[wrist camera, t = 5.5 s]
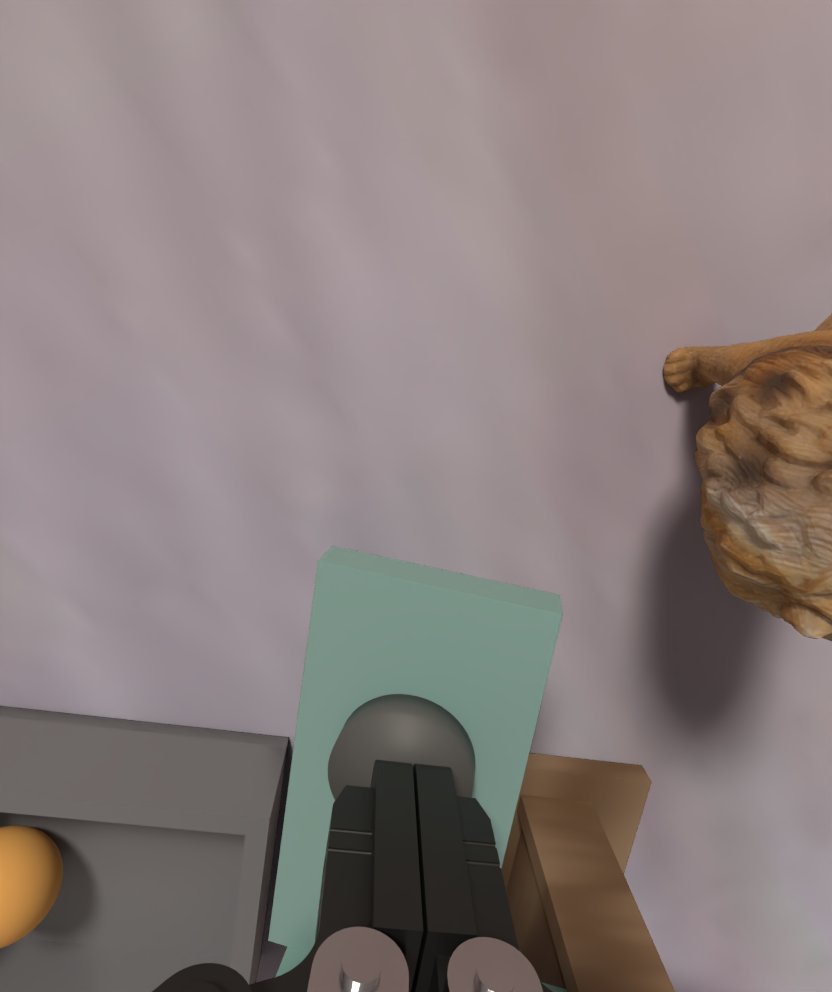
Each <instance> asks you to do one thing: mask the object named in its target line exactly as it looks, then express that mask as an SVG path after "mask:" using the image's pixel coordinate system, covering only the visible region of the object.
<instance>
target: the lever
mask: <svg viewBox="0 0 832 992" xmlns="http://www.w3.org/2000/svg"><path fill="white" fill-rule="evenodd" d="M562 615H563V613H562V606H561V599H560V595H558V594H553V593H548V592H544V591H539V590H535V589H530V588H525V587H521V586H516V585H511V584H507V583H502V582H498V581H493V580H488V579H484V578H479V577H474V576H470V575H465V574H461V573H456V572H451V571H447V570H442V569H437V568H433V567H428V566H424V565H419V564H414V563H410V562H405V561H400V560H396V559H391V558H387V557H382V556H377V555H373V554H368V553H363V552H359V551H354V550H350V549H345V548H340V547H336V546H332V547H331V548H330V549H329V550H328V551H327V552H326V553H325V554H324V555H323V556H322V557H321V558H320V559H319V560H318V565H317V573H316V581H315V588H314V596H313V603H312V611H311V619H310V626H309V634H308V641H307V649H306V657H305V664H304V672H303V679H302V687H301V695H300V702H299V710H298V717H297V725H296V733H295V740H294V748H293V755H292V763H291V771H290V778H289V786H288V793H287V801H286V809H285V816H284V824H283V831H282V839H281V847H280V854H279V862H278V869H277V877H276V885H275V892H274V900H273V907H272V915H271V923H270V930H269V938H268V941H270V942H274V943H277V944H280V945H284V946H287V949H286V952H285V954H284V957H283V959H282V962H281V964H280V967H279V969H278V971H277V974H276V976H275V977H277V976H280V975H283V974H285V973H286V972H288V971H290V970H292V969H293V968H294V967H296V966H297V965H299V964H300V963H301V962H302V961H303V960H304V959H305V958H306V956H307V955H308V954H309V952H310V951H311V949H312V948H313V946H314V944H315V935H316V926H317V918H318V909H319V900H320V891H321V883H322V874H323V866H324V859H325V853H326V846H327V840H328V833H329V827H330V820H331V813H332V807H333V803H334V802H335V800H336V799H337V797H338V796H339V795H340V793H341V792H342V790H343V789H344V787H345V786H346V785H350V786H360V787H370V785H371V779H372V773H373V767H374V763H375V760H386V761H395V762H405V763H412V765H414V763H416V764H425V765H435V766H444V767H451V769H452V773H453V780H454V786H455V793H456V796H460V797H470V798H476V799H477V801H478V802H479V804H480V805H481V806H482V808H483V809H484V811H485V812H486V814H487V815H488V817H489V818H490V819H491V824H492V828H493V833H494V838H495V842H496V845H495V847H496V848H497V851H498V856H499V861H500V868H502V864H503V860H504V855H505V851H506V847H507V843H508V839H509V835H510V831H511V826H512V822H513V818H514V814H515V810H516V806H517V802H518V797H519V793H520V789H521V785H522V781H523V777H524V772H525V768H526V764H527V760H528V756H529V752H530V748H531V743H532V739H533V735H534V731H535V727H536V723H537V719H538V714H539V710H540V706H541V702H542V698H543V694H544V690H545V685H546V681H547V677H548V673H549V669H550V665H551V660H552V656H553V652H554V648H555V644H556V640H557V636H558V631H559V627H560V623H561V619H562ZM541 983H542V982H541ZM542 984H544V985H545V986H546V987H547V988H548V989H550V990H551V991H553V992H567V990H566V989H562V988H559V987H556V986H552V985H549V984H546V983H542Z"/></svg>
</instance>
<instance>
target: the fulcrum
mask: <svg viewBox="0 0 832 992" xmlns="http://www.w3.org/2000/svg"><path fill="white" fill-rule="evenodd" d="M650 785H651V780H650V778H649V777H648V775H647V773H646V772H645V770H644V768H643V767H642V765H633V764H624V763H615V762H606V761H597V760H588V759H579V758H570V757H561V756H552V755H543V754H533V753H529V756H528V760H527V764H526V768H525V772H524V777H523V781H522V785H521V789H520V793H519V797H518V802H517V806H516V810H515V814H514V818H513V822H512V826H511V831H510V835H509V839H508V843H507V847H506V851H505V855H504V860H503V864H502V868H501V870H502V875H503V879H504V884H505V888H506V893H507V898H508V902H509V907H510V912H511V916H512V921H513V925H514V930H515V935H516V939H517V944H518V947H519V950H520V952H521V953H522V954H523V955H524V956H525V957H526V958H527V959H528V961H529V962H530V963H531V965H532V966H533V968H534V969H535V971H536V973H537V975H538V978H539V980H540V982H542V983H546V984H549V985H552V986H556V987H559V988H562V989H566V990H567V992H675V991H674V988H673V986H672V984H671V981H670V979H669V977H668V975H667V972H666V970H665V968H664V965H663V963H662V961H661V959H660V956H659V954H658V952H657V950H656V947H655V945H654V943H653V940H652V938H651V936H650V934H649V931H648V929H647V927H646V925H645V922H644V920H643V918H642V915H641V913H640V911H639V909H638V906H637V904H636V902H635V899H634V897H633V895H632V893H631V890H630V888H629V886H628V884H627V881H626V879H625V877H624V872H625V868H626V865H627V862H628V858H629V855H630V852H631V848H632V845H633V842H634V838H635V835H636V832H637V829H638V825H639V822H640V819H641V815H642V812H643V809H644V805H645V802H646V799H647V795H648V792H649V789H650Z"/></svg>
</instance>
